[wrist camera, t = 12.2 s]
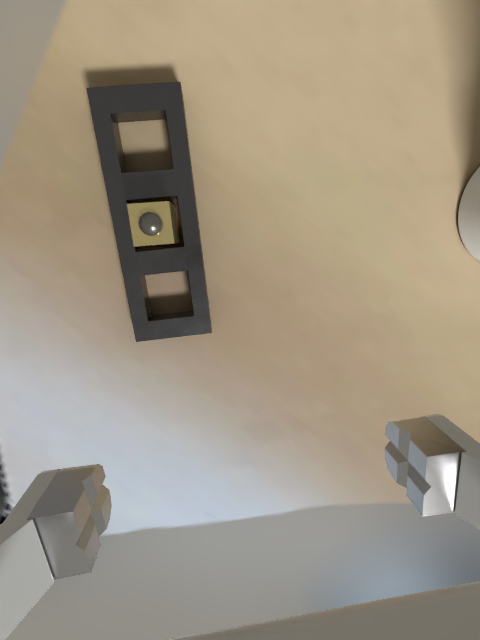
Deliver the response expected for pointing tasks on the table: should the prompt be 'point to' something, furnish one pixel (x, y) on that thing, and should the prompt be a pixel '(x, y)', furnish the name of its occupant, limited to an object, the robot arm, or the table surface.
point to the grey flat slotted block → (149, 186)
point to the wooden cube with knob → (153, 223)
